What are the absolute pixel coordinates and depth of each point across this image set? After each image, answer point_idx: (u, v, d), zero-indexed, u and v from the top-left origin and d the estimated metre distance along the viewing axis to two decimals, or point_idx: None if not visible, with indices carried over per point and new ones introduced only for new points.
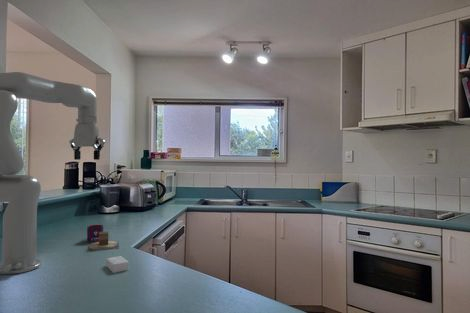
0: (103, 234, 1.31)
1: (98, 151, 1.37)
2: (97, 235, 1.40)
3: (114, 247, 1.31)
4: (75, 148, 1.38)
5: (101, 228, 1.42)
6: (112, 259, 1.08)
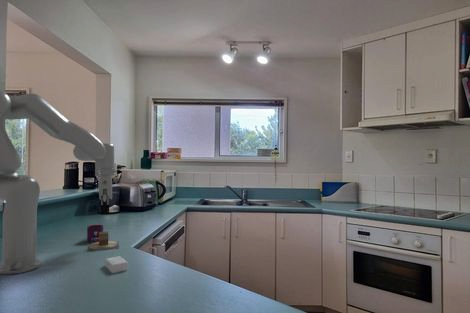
0: (103, 234, 1.31)
1: None
2: (97, 235, 1.40)
3: (114, 247, 1.31)
4: (108, 202, 1.29)
5: (101, 228, 1.42)
6: (111, 259, 1.08)
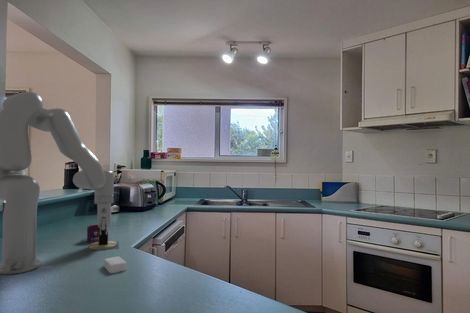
0: None
1: None
2: (97, 235, 1.40)
3: (114, 247, 1.31)
4: None
5: None
6: (110, 259, 1.07)
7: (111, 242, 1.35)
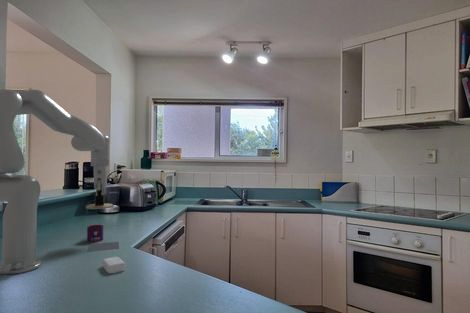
0: None
1: None
2: (97, 235, 1.40)
3: (114, 247, 1.31)
4: (102, 192, 1.37)
5: (101, 228, 1.42)
6: (108, 260, 1.07)
7: (107, 204, 1.42)
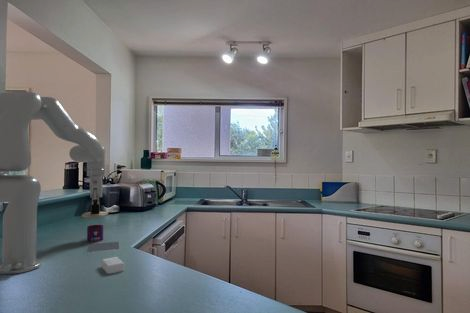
0: None
1: None
2: (97, 235, 1.40)
3: (114, 247, 1.31)
4: (98, 201, 1.43)
5: (101, 228, 1.42)
6: (107, 260, 1.07)
7: (102, 212, 1.47)
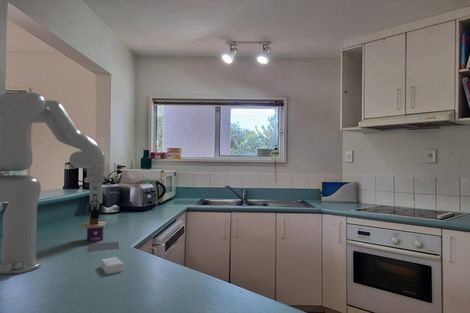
0: None
1: None
2: (97, 235, 1.40)
3: (114, 247, 1.31)
4: None
5: (101, 228, 1.42)
6: (106, 260, 1.07)
7: (101, 222, 1.47)
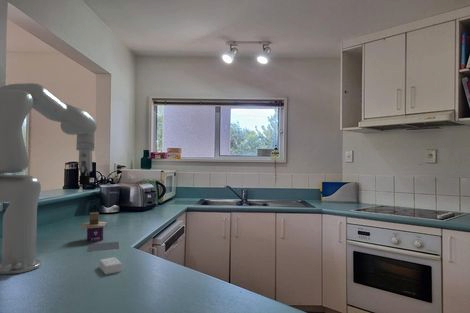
0: (93, 214, 1.42)
1: None
2: (97, 235, 1.40)
3: (114, 247, 1.31)
4: (86, 173, 1.40)
5: (101, 228, 1.42)
6: (105, 260, 1.06)
7: (101, 222, 1.47)
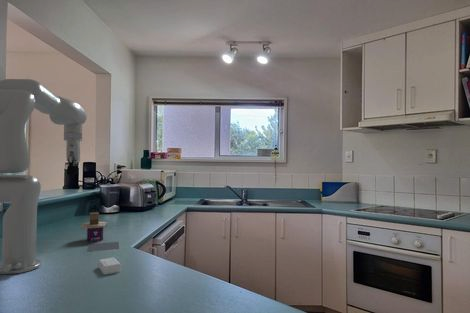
0: (93, 214, 1.42)
1: None
2: (97, 235, 1.40)
3: (114, 247, 1.31)
4: (74, 163, 1.41)
5: (101, 228, 1.42)
6: (104, 261, 1.06)
7: (102, 222, 1.47)
